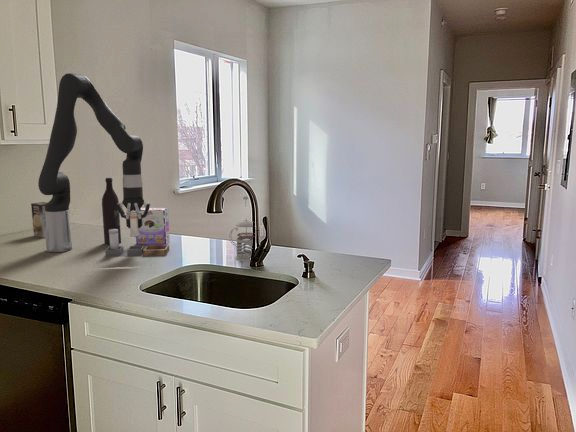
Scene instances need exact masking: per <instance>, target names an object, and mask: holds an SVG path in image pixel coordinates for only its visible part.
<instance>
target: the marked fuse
mask: <svg viewBox="0 0 576 432" xmlns="http://www.w3.org/2000/svg"><path fill="white" fill-rule="evenodd" d="M129 229H130V231H129V232H130V234H129V235H130V237H133V238H136V237H137V236H140V233H139V228H138V215H137V212H136V211H134V210H133V211H131V212H130V228H129Z"/></svg>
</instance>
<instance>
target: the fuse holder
mask: <svg viewBox="0 0 576 432" xmlns="http://www.w3.org/2000/svg"><path fill="white" fill-rule="evenodd" d="M145 247H146V245H130V246H129V247H128V248H126V250H125V249H124V246H123V245H122V246H121V245H119V249H114V250H110V246H108V247H107V248H105V256H104V257H105V258H110V257H113V258H114V257H142V256H143V250H144V248H145Z"/></svg>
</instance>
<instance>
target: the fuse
mask: <svg viewBox="0 0 576 432" xmlns="http://www.w3.org/2000/svg"><path fill="white" fill-rule="evenodd" d="M109 238H110V245H109V247H110V250H114V249H119V246H120V244H119V240H118V229H110V230H109Z"/></svg>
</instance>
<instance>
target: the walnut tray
mask: <svg viewBox="0 0 576 432" xmlns="http://www.w3.org/2000/svg"><path fill="white" fill-rule="evenodd" d="M169 252H170V244H166V245H157V244H146V245H145V248H144V250H143V255H142V256H144V257H145V256H146V257H148V256H149V257H151V256H153V257H155V256H167V255H168V253H169Z"/></svg>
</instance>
